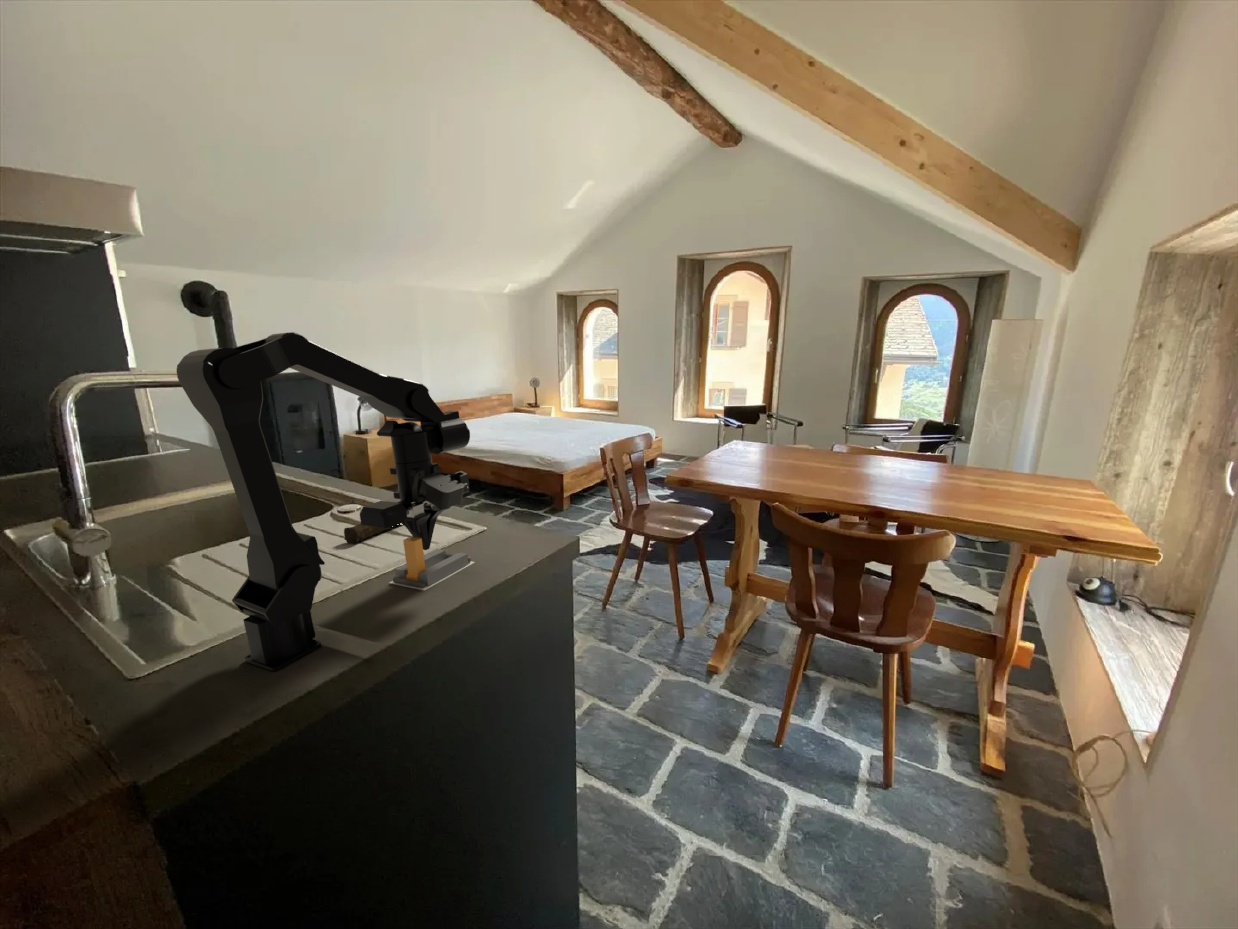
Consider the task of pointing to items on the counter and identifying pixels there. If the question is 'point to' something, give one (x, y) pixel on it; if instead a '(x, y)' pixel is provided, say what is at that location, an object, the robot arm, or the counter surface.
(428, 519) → the robot arm
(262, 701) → the counter surface
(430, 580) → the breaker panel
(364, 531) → the dark brown rod
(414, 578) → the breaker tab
